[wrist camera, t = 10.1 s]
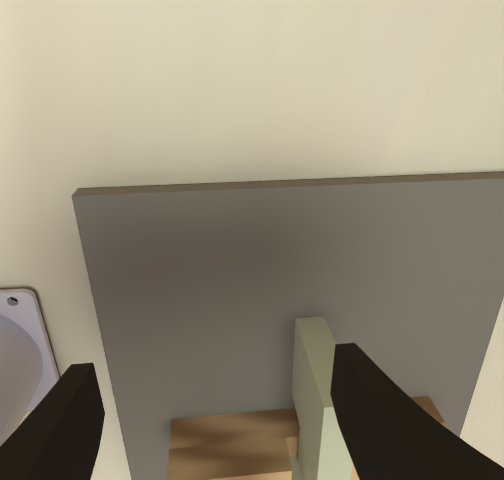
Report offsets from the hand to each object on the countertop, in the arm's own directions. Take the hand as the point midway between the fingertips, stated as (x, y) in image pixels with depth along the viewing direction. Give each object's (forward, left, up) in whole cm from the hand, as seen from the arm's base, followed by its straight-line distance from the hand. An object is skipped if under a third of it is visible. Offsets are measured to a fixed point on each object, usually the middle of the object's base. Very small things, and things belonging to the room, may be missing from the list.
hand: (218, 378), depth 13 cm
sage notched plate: (+5, -11, -8) cm, 15 cm away
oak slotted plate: (+5, -12, -8) cm, 15 cm away
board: (+5, -8, -9) cm, 14 cm away
